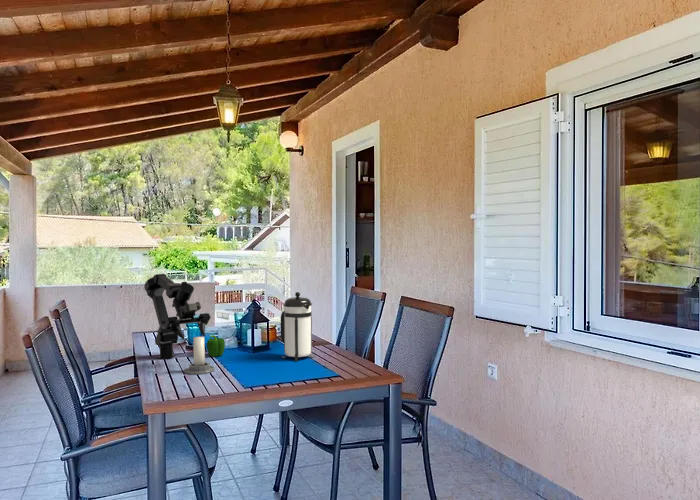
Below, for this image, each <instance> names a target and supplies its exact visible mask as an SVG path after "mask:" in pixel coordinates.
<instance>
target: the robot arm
mask: <svg viewBox="0 0 700 500" xmlns="http://www.w3.org/2000/svg"><path fill="white" fill-rule="evenodd" d="M144 291H145V292H146V294H147V296H148V297H149V298H150V299H152V304H153V307H154V310H155V314H156V317H157V321H158V325H159V327H158V329H157V333H156V337H155V339H154V344H155V345H156V346H159V356H157V359H158V360H159V359H160V360H161V359H164V360H165V359H167V360H168V359H173V358H174V357H176V354H174V344H178V339H179V338H180V339H182V340H185V335H184V332H183V330H182V328H181V325H182V324H183V325H187V324H195V323H196V324H197V326H198V330H199V331H200V333H201V336H202V337H205V336H206V326H207V325H208V323H209V321H210V319H211V318H212V317H211V315H210V313H208V312H204V313H199V315H198V317H195V316H196V312H197V311H200V310H201V309H202V305H201V303H200V301H197V302H194V303H189V301H190V299H191V297H192V294H193V292H194V291H195V288H194V286H193V285H192V284H190V283H188V281H181V283H176V282H174V281H173V280H172V279H171V278H169V277H168V276H167V274H165V273H157V274H154V275H153V276H152V277H151V278H148V279H147V280H146V282H145V283H144ZM164 291H165V296H167V298H168V299H172V305H171V307H172V308H174V309H175V312H176V314H175V316H169V313H168V311H167V306H166V304H165V298H164V295H163V294H164Z"/></svg>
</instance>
